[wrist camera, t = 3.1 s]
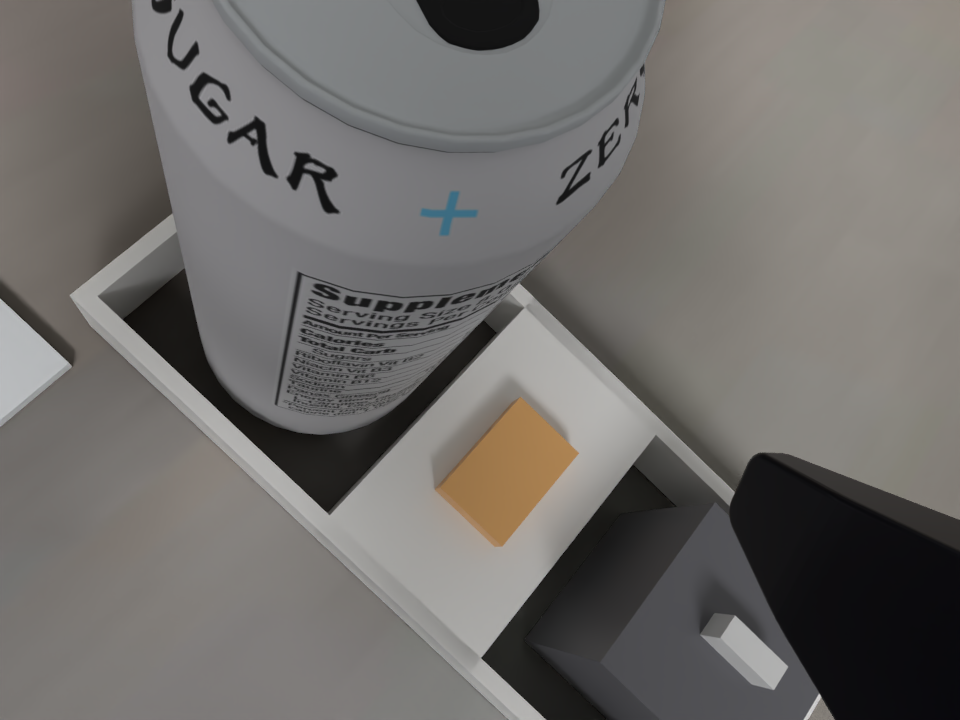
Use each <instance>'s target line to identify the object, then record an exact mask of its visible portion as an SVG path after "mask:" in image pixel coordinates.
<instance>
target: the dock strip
mask: <svg viewBox="0 0 960 720" xmlns="http://www.w3.org/2000/svg"><path fill="white" fill-rule="evenodd" d="M184 268H185V266H184V261H183V257H182V252H181V248H180V243H179V239H178V234H177V230H176V225H175V221H174V216H173V213H172V214H171V215H170V216H168V217H167V218H166V219H165V220H163V221H162V222H161V223H160V224H158V225H157V226H156V227H155V228H153V229H152V230H151V231H150V232H148V233H147V234H146V235H145V236H143V237H142V238H141V239H140V240H138V241H137V242H136V243H135V244H133V245H132V246H131V247H130V248H128V249H127V250H126V251H124V252H123V253H122V254H121V255H119V256H118V257H117V258H116V259H114V260H113V261H112V262H111V263H109V264H108V265H107V266H106V267H104V268H103V269H102V270H101V271H99V272H98V273H97V274H96V275H94V276H93V277H92V278H91V279H89V280H88V281H87V282H86V283H84V284H83V285H82V286H80V287H79V288H78V289H77V290H75V291H74V292H73V293H72V294H70V297H71V298H72V300H73V301H74V303H75V304H76V306H77V307H78V309H79V310H80V312H81V313H82V314H83V316H84V317H85V319H86V320H87V322H88V323H89V325H90V326H91V327H92V328H93V329H94V330H95V331H96V332H97V333H98V334H100V335H101V336H102V337H103V338H104V339H105V340H106V341H107V342H108V343H109V344H110V345H111V346H112V347H113V348H114V349H115V350H117V351H118V352H119V353H120V354H121V355H122V356H123V357H124V358H125V359H126V360H127V361H128V362H129V363H130V364H131V365H132V366H134V367H135V368H136V369H137V370H138V371H139V372H140V373H141V374H142V375H143V376H144V377H145V378H146V379H147V380H148V381H149V382H150V383H152V384H153V385H154V386H155V387H156V388H157V389H158V390H159V391H160V392H161V393H162V394H163V395H164V396H165V397H166V398H167V399H169V400H170V401H171V402H172V403H173V404H174V405H175V406H176V407H177V408H178V409H179V410H180V411H181V412H182V413H183V414H184V415H186V416H187V417H188V418H189V419H190V420H191V421H192V422H193V423H194V424H195V425H196V426H197V427H198V428H199V429H200V430H201V431H203V432H204V433H205V434H206V435H207V436H208V437H209V438H210V439H211V440H212V441H213V442H214V443H215V444H216V445H217V446H218V447H220V448H221V449H222V450H223V451H224V452H225V453H226V454H227V455H228V456H229V457H230V458H231V459H232V460H233V461H234V462H235V463H237V464H238V465H239V466H240V467H241V468H242V469H243V470H244V471H245V472H246V473H247V474H248V475H249V476H250V477H251V478H252V479H254V480H255V481H256V482H257V483H258V484H259V485H260V486H261V487H262V488H263V489H264V490H265V491H266V492H267V493H268V494H269V495H271V496H272V497H273V498H274V499H275V500H276V501H277V502H278V503H279V504H280V505H281V506H282V507H283V508H284V509H285V510H286V511H288V512H289V513H290V514H291V515H292V516H293V517H294V518H295V519H296V520H297V521H298V522H299V523H300V524H301V525H302V526H303V527H305V528H306V529H307V530H308V531H309V532H310V533H311V534H312V535H313V536H314V537H315V538H316V539H317V540H318V541H319V542H320V543H322V544H323V545H324V546H325V547H326V548H327V549H328V550H329V551H330V552H331V553H332V554H333V555H334V556H335V557H336V558H337V559H339V560H340V561H341V562H342V563H343V564H344V565H345V566H346V567H347V568H348V569H349V570H350V571H351V572H352V573H353V574H354V575H356V576H357V577H358V578H359V579H360V580H361V581H362V582H363V583H364V584H365V585H366V586H367V587H368V588H369V589H370V590H371V591H373V592H374V593H375V594H376V595H377V596H378V597H379V598H380V599H381V600H382V601H383V602H384V603H385V604H386V605H387V606H388V607H390V608H391V609H392V610H393V611H394V612H395V613H396V614H397V615H398V616H399V617H400V618H401V619H402V620H403V621H404V622H405V623H407V624H408V625H409V626H410V627H411V628H412V629H413V630H414V631H415V632H416V633H417V634H418V635H419V636H420V637H421V638H422V639H424V640H425V641H426V642H427V643H428V644H429V645H430V646H431V647H432V648H433V649H434V650H435V651H436V652H437V653H438V654H439V655H441V656H442V657H443V658H444V659H445V660H446V661H447V662H448V663H449V664H450V665H451V666H452V667H453V668H454V669H455V670H456V671H458V672H459V673H460V674H461V675H462V676H463V677H464V678H465V679H466V680H467V681H468V682H469V683H470V684H471V685H472V686H473V687H475V688H476V689H477V690H478V691H479V692H480V693H481V694H482V695H483V696H484V697H485V698H486V699H487V700H488V701H489V702H490V703H492V704H493V705H494V706H495V707H496V708H497V709H498V710H499V711H500V712H501V713H502V714H503V715H504V716H505V717H506V718H507V719H508V720H546V719H545V718H544V717H543V716H542V715H541V714H540V713H538V712H537V711H536V710H535V709H534V708H533V707H532V706H531V705H530V704H529V703H528V702H527V701H526V700H525V699H524V698H523V697H522V696H520V695H519V694H518V693H517V692H516V691H515V690H514V689H513V688H512V687H511V686H510V685H509V684H508V683H507V682H506V681H505V680H504V679H502V678H501V677H500V676H499V675H498V674H497V673H496V672H495V671H494V670H493V669H492V668H491V667H490V666H489V665H488V664H487V663H486V662H484V661H483V660H482V659H481V658H482V656H483V655H484V654H485V652H486V651H487V650H488V649H489V647H490V646H491V645H492V643H493V642H494V641H495V640H496V638H497V637H498V636H499V635H500V633H501V632H502V631H503V629H504V628H505V627H506V626H507V624H508V623H509V622H510V620H511V619H512V618H513V617H514V615H515V614H516V613H517V612H518V610H519V609H520V608H521V606H522V605H523V604H524V603H525V601H526V600H527V599H528V597H529V596H530V595H531V594H532V592H533V591H534V590H535V589H536V587H537V586H538V585H539V583H540V582H541V581H542V580H543V578H544V577H545V576H546V575H547V573H548V572H549V571H550V569H551V568H552V567H553V566H554V564H555V563H556V562H557V560H558V559H559V558H560V557H561V555H562V554H563V553H564V552H565V550H566V549H567V548H568V546H569V545H570V544H571V543H572V541H573V540H574V539H575V537H576V536H577V535H578V534H579V532H580V531H581V530H582V529H583V527H584V526H585V525H586V523H587V522H588V521H589V520H590V518H591V517H592V516H593V515H594V513H595V512H596V511H597V509H598V508H599V507H600V506H601V504H602V503H603V502H604V500H605V499H606V498H607V497H608V495H609V494H610V493H611V492H612V490H613V489H614V488H615V486H616V485H617V484H618V483H619V481H620V480H621V479H622V477H623V476H624V475H625V474H626V472H627V471H628V470H629V469H630V467H631V466H632V465H634V466H635V467H636V468H637V469H638V470H639V471H640V472H641V473H643V474H644V475H645V476H646V477H647V478H648V479H649V480H650V481H651V482H652V483H653V484H654V485H655V486H656V487H657V488H658V489H659V490H660V491H661V492H662V493H663V494H664V495H665V496H666V497H667V498H668V499H669V500H670V501H672V502H673V503H674V504H675V505H676V506H677V507H680V506H688V505H696V504H705V503H713V502H716V503H717V504H718V505H719V506H720V507H721V508H722V509H723V510H724V511H725V512H726V513H727V514H728V515H729V508H730V503H731V500H732V497H733V495H734V493H735V492H734V491H733V490H732V489H731V488H730V487H729V486H728V485H727V484H726V483H725V482H724V481H723V480H722V479H721V478H720V477H719V476H718V475H717V474H716V473H715V472H714V471H713V470H712V469H710V468H709V467H708V466H707V465H706V464H705V463H704V462H703V461H702V460H701V459H700V458H699V457H698V456H697V455H696V454H695V453H694V452H693V451H692V450H691V449H690V448H689V447H688V446H687V445H686V444H685V443H684V442H683V441H682V440H681V439H680V438H679V437H677V436H676V435H675V434H674V433H673V432H672V431H671V430H670V429H669V428H668V427H667V426H666V425H665V424H664V423H663V422H662V421H661V420H660V419H659V418H658V417H657V416H656V415H655V414H654V413H653V412H652V411H651V410H650V409H649V408H648V407H647V406H646V405H644V404H643V403H642V402H641V401H640V400H639V399H638V398H637V397H636V396H635V395H634V394H633V393H632V392H631V391H630V390H629V389H628V388H627V387H626V386H625V385H624V384H623V383H622V382H621V381H620V380H619V379H618V378H617V377H616V376H615V375H614V374H613V373H612V372H610V371H609V370H608V369H607V368H606V367H605V366H604V365H603V364H602V363H601V362H600V361H599V360H598V359H597V358H596V357H595V356H594V355H593V354H592V353H591V352H590V351H589V350H588V349H587V348H586V347H585V346H584V345H583V344H582V343H581V342H580V341H579V340H577V339H576V338H575V337H574V336H573V335H572V334H571V333H570V332H569V331H568V330H567V329H566V328H565V327H564V326H563V325H562V324H561V323H560V322H559V321H558V320H557V319H556V318H555V317H554V316H553V315H552V314H551V313H550V312H549V311H548V310H547V309H546V308H544V307H543V306H542V305H541V304H540V303H539V302H538V301H537V300H536V299H535V298H534V297H533V296H532V295H531V294H530V293H529V292H528V291H527V290H526V289H525V288H524V287H523V286H522V285H521V284H520V283H519V284H518V285H517V286H516V287H515V288H514V289H513V290H512V291H511V292H510V293H509V294H508V295H507V296H506V297H505V298H504V299H503V300H502V301H501V302H500V303H499V304H498V305H497V306H496V307H495V308H494V309H493V311H492V312H491V313H490V314H489V315H488V316H487V317H486V318H485V319H484V321H485V322H486V323H487V324H488V325H489V326H490V327H491V328H492V329H493V330H494V331H495V332H496V334H495V335H494V337H493V338H492V339H491V340H490V341H489V342H488V343H487V344H486V345H485V346H484V347H483V348H482V349H481V350H480V351H479V352H478V354H477V355H476V356H475V357H474V358H473V359H472V360H471V361H470V362H469V363H468V364H467V365H466V366H465V367H464V368H463V369H462V371H461V372H460V373H459V374H458V375H457V376H456V377H455V378H454V379H453V380H452V381H451V382H450V383H449V384H448V385H447V386H446V388H445V389H444V390H443V391H442V392H441V393H440V394H439V395H438V396H437V397H436V398H435V399H434V400H433V401H432V402H431V403H430V405H429V406H428V407H427V408H426V409H425V410H424V411H423V412H422V413H421V414H420V415H419V416H418V417H417V418H416V419H415V420H414V421H413V423H412V424H411V425H410V426H409V427H408V428H407V429H406V430H405V431H404V432H403V433H402V434H401V435H400V436H399V437H398V438H397V440H396V441H395V442H394V443H393V444H392V445H391V446H390V447H389V448H388V449H387V450H386V451H385V452H384V453H383V454H382V455H381V457H380V458H379V459H378V460H377V461H376V462H375V463H374V464H373V465H372V466H371V467H370V468H369V469H368V470H367V471H366V472H365V474H364V475H363V476H362V477H361V478H360V479H359V480H358V481H357V482H356V483H355V484H354V485H353V486H352V487H351V488H350V489H349V491H348V492H347V493H346V494H345V495H344V496H343V497H342V498H341V499H340V500H339V501H338V502H337V503H336V504H335V505H334V506H333V508H332V509H331V510H330V511H329V512H328V513H327V512H325V511H324V510H323V509H322V508H321V507H320V506H319V505H318V504H317V503H316V502H315V501H314V500H313V499H312V498H311V497H310V496H309V495H307V494H306V493H305V492H304V491H303V490H302V489H301V488H300V487H299V486H298V485H297V484H296V483H295V482H294V481H293V480H292V479H291V478H289V477H288V476H287V475H286V474H285V473H284V472H283V471H282V470H281V469H280V468H279V467H278V466H277V465H276V464H275V463H274V462H272V461H271V460H270V459H269V458H268V457H267V456H266V455H265V454H264V453H263V452H262V451H261V450H260V449H259V448H258V447H257V446H256V445H254V444H253V443H252V442H251V441H250V440H249V439H248V438H247V437H246V436H245V435H244V434H243V433H242V432H241V431H240V430H239V429H238V428H236V427H235V426H234V425H233V424H232V423H231V422H230V421H229V420H228V419H227V418H226V417H225V416H224V415H223V414H222V413H221V412H220V411H218V410H217V409H216V408H215V407H214V406H213V405H212V404H211V403H210V402H209V401H208V400H207V399H206V398H205V397H204V396H203V395H201V394H200V393H199V392H198V391H197V390H196V389H195V388H194V387H193V386H192V385H191V384H190V383H189V382H188V381H187V380H186V379H185V378H183V377H182V376H181V375H180V374H179V373H178V372H177V371H176V370H175V369H174V368H173V367H172V366H171V365H170V364H169V363H168V362H167V361H165V360H164V359H163V358H162V357H161V356H160V355H159V354H158V353H157V352H156V351H155V350H154V349H153V348H152V347H151V346H150V345H148V344H147V343H146V342H145V341H144V340H143V339H142V338H141V337H140V336H139V335H138V334H137V333H136V332H135V331H134V330H133V329H132V328H130V327H129V326H128V325H127V324H126V323H125V322H124V321H123V319H124V318H125V317H126V316H128V315H129V314H130V313H131V312H132V311H134V310H135V309H136V308H137V307H138V306H140V305H141V304H142V303H143V302H144V301H146V300H147V299H148V298H149V297H150V296H152V295H153V294H154V293H155V292H156V291H158V290H159V289H160V288H161V287H162V286H164V285H165V284H166V283H167V282H168V281H170V280H171V279H172V278H173V277H174V276H176V275H177V274H178V273H179V272H180V271H182V270H183V269H184ZM820 698H821V696H820V694H819V695H818V696H817V698H816V700H815V701H814V703H813V705H812V706H811V708H810V710H809V712H808V713H807V715H806V717H805V718H804V720H808V718H809V717H810V715H811V713H812V712H813V710H814V708H815V707H816V705H817V703H818V701H819V700H820Z"/></svg>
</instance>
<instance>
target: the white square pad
mask: <svg viewBox="0 0 960 720" xmlns="http://www.w3.org/2000/svg"><path fill="white" fill-rule="evenodd" d="M71 367H72V366H71V365H70V364H69V363H68V362H67V361H66V360H65V359H64V358H63V357H62V356H61V355H60V354H59V353H58V352H57V351H56V350H55V349H54V348H52V347H51V346H50V345H49V344H48V343H47V342H46V341H45V340H44V339H43V338H42V337H41V336H40V335H39V334H38V333H36V332H35V331H34V330H33V329H32V328H31V327H30V326H29V325H28V324H27V323H26V322H25V321H24V320H23V319H22V318H20V317H19V316H18V315H17V314H16V313H15V312H14V311H13V310H12V309H11V308H10V307H9V306H8V305H7V304H6V303H4V302H3V301H2V300H1V299H0V427H1V426H2V425H3V424H4V423H6V422H7V421H8V420H9V419H10V418H12V417H13V416H14V415H15V414H16V413H18V412H19V411H20V410H21V409H22V408H24V407H25V406H26V405H27V404H28V403H30V402H31V401H32V400H33V399H34V398H35V397H37V396H38V395H39V394H40V393H41V392H43V391H44V390H45V389H46V388H47V387H49V386H50V385H51V384H52V383H53V382H55V381H56V380H57V379H58V378H59V377H61V376H62V375H63V374H64V373H65V372H67V371H68V370H69V369H70V368H71Z"/></svg>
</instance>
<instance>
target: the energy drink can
mask: <svg viewBox="0 0 960 720" xmlns="http://www.w3.org/2000/svg"><path fill="white" fill-rule="evenodd" d="M665 1H666V0H132V13H133V28H134V40H135V44H136V49H137V53H138V58H139V62H140V67H141V71H142V76H143V80H144V85H145V89H146V94H147V98H148V103H149V108H150V112H151V117H152V121H153V126H154V130H155V135H156V139H157V144H158V148H159V153H160V157H161V162H162V166H163V171H164V175H165V180H166V184H167V189H168V193H169V198H170V202H171V207H172V212H173V216H174V221H175V225H176V230H177V234H178V239H179V243H180V248H181V252H182V257H183V261H184V266H185V270H186V275H187V279H188V284H189V288H190V293H191V297H192V302H193V306H194V311H195V316H196V320H197V325H198V329H199V334H200V338H201V342H202V345H203V348H204V352H205V355H206V358H207V362H208V364H209V365H210V367H211V369H212V371H213V373H214V374H215V376H216V378H217V380H218V382H219V383H220V384H221V385H222V387H223V388H224V389H225V390H226V391H227V392H228V394H229V395H230V396H231V397H232V398H233V399H234V401H236V402H237V403H238V404H240V405H241V406H242V407H243V408H245V409H246V410H247V411H249V412H250V413H251V414H252V415H254V416H256V417H258V418H260V419H262V420H264V421H266V422H268V423H270V424H272V425H274V426H276V427H280V428H283V429H287V430H290V431H294V432H297V433H308V434H319V435H324V434H333V433H342V432H347V431H351V430H354V429H357V428H360V427H363V426H367V425H369V424H371V423H372V422H374V421H376V420H378V419H380V418H382V417H383V416H385V415H387V414H388V413H390V412H391V411H392V410H393V409H394V408H396V407H397V406H398V405H399V404H400V403H402V402H403V401H404V400H405V399H406V398H407V397H408V396H409V395H410V394H411V393H412V392H413V391H414V390H415V389H416V388H417V387H418V386H419V385H420V384H421V383H422V382H423V381H424V380H425V379H426V378H427V377H428V376H429V375H430V374H431V373H432V371H433V370H434V369H435V368H436V367H437V366H438V365H439V364H440V363H441V362H442V361H443V360H444V359H445V358H446V357H447V356H448V355H449V354H450V353H451V352H452V351H453V350H454V349H455V348H456V347H457V346H458V345H459V344H460V343H461V342H462V341H463V340H464V339H465V338H466V337H467V336H468V335H469V334H470V333H471V332H472V331H473V330H474V329H475V328H476V327H477V326H478V325H479V324H480V323H481V322H482V321H483V320H484V319H485V318H486V317H487V316H488V315H489V314H490V313H491V312H492V311H493V309H494V308H495V307H496V306H497V305H498V304H499V303H500V302H501V301H502V300H503V299H504V298H505V297H506V296H507V295H508V294H509V293H510V292H511V291H512V290H513V289H514V288H515V287H516V286H517V285H518V284H519V283H520V282H521V281H522V280H523V279H524V278H525V277H526V276H527V275H528V274H529V273H530V272H531V271H532V270H533V269H534V268H535V267H536V266H537V265H538V264H539V263H540V262H541V261H542V260H543V259H544V258H545V257H546V256H547V255H548V254H549V253H550V252H551V251H552V250H553V248H554V247H555V246H556V245H557V244H558V243H559V242H560V241H561V240H562V239H563V238H564V237H565V236H566V235H567V234H568V233H569V232H570V231H571V230H572V229H573V228H574V227H575V226H576V225H577V224H578V223H579V222H580V221H581V220H582V219H583V218H584V217H585V216H586V215H587V214H588V213H589V212H590V211H591V210H592V209H593V208H594V207H595V205H596V204H597V203H598V201H599V200H600V199H601V198H602V196H603V195H604V194H605V192H606V191H607V190H608V188H609V187H610V186H611V185H612V183H613V182H614V181H615V179H616V178H617V177H618V175H619V174H620V172H621V170H622V167H623V165H624V163H625V161H626V159H627V156H628V154H629V152H630V150H631V148H632V145H633V143H634V141H635V139H636V136H637V131H638V126H639V121H640V116H641V111H642V106H643V101H644V96H645V60H646V58H647V56H648V54H649V51H650V49H651V47H652V45H653V43H654V41H655V39H656V36H657V34H658V32H659V30H660V25H661V20H662V16H663V11H664V6H665Z"/></svg>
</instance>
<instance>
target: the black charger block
mask: <svg viewBox="0 0 960 720" xmlns="http://www.w3.org/2000/svg"><path fill="white" fill-rule="evenodd" d="M524 641H525V642H526V643H527V644H529V645H530V646H531V647H532V648H533V649H534V650H535V651H536V652H537V653H538V654H539V655H540V656H541V657H542V658H543V659H544V660H545V661H546V662H547V663H548V664H550V665H551V666H552V667H553V668H554V669H555V670H556V671H557V672H558V673H559V674H560V675H561V676H562V677H563V678H564V679H565V680H566V681H567V682H568V683H570V684H571V685H572V686H573V687H574V688H575V689H576V690H577V691H578V692H579V693H580V694H581V695H582V696H583V697H584V698H585V699H586V700H587V701H588V702H589V703H591V704H592V705H593V706H594V707H595V708H596V709H597V710H598V711H599V712H600V713H601V714H602V715H603V716H604V717H605V718H606V719H607V720H804V718H805V717H806V715H807V713H808V712H809V710H810V708H811V706H812V705H813V703H814V701H815V700H816V698H817V696H818V695H819V692H818V691H817V689H816V687H815V686H814V684H813V682H812V681H811V679H810V677H809V676H808V674H807V672H806V671H805V669H804V667H803V666H802V664H801V662H800V661H799V659H798V657H797V656H796V654H795V652H794V651H793V649H792V647H791V646H790V644H789V642H788V640H787V639H786V637H785V635H784V634H783V632H782V630H781V628H780V627H779V625H778V623H777V621H776V620H775V618H774V616H773V614H772V612H771V610H770V608H769V606H768V604H767V601H766V599H765V597H764V595H763V593H762V591H761V589H760V586H759V584H758V582H757V580H756V578H755V576H754V574H753V571H752V569H751V567H750V565H749V563H748V561H747V559H746V556H745V554H744V552H743V550H742V548H741V546H740V544H739V541H738V539H737V537H736V535H735V533H734V531H733V529H732V526H731V523H730V518H729V515H728V514H727V513H726V512H725V511H724V510H723V509H722V508H721V507H720V506H719V505H718V504H717V503H716V502H713V503H705V504H696V505H688V506H680V507H672V508H663V509H655V510H647V511H638V512H630V513H622V514H620V516H619V517H618V518H617V519H616V521H615V522H614V523H613V525H612V526H611V527H610V528H609V530H608V531H607V532H606V534H605V535H604V536H603V538H602V539H601V540H600V541H599V543H598V544H597V545H596V547H595V548H594V549H593V551H592V552H591V553H590V554H589V556H588V557H587V558H586V560H585V561H584V562H583V564H582V565H581V566H580V567H579V569H578V570H577V571H576V573H575V574H574V575H573V576H572V578H571V579H570V580H569V582H568V583H567V584H566V586H565V587H564V588H563V589H562V591H561V592H560V593H559V595H558V596H557V597H556V599H555V600H554V601H553V602H552V604H551V605H550V606H549V608H548V609H547V610H546V611H545V613H544V614H543V615H542V617H541V618H540V619H539V621H538V622H537V623H536V624H535V626H534V627H533V628H532V630H531V631H530V632H529V634H528V635H527V636H526V637H525V639H524Z"/></svg>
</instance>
